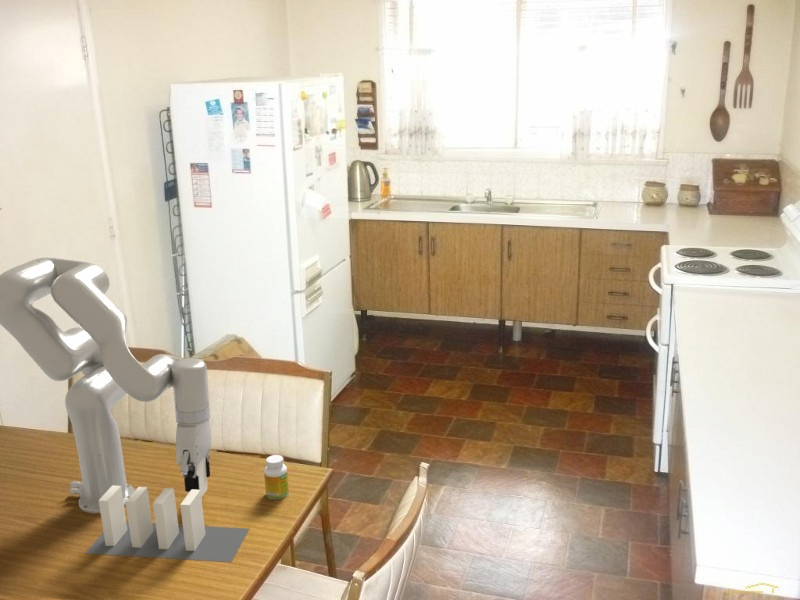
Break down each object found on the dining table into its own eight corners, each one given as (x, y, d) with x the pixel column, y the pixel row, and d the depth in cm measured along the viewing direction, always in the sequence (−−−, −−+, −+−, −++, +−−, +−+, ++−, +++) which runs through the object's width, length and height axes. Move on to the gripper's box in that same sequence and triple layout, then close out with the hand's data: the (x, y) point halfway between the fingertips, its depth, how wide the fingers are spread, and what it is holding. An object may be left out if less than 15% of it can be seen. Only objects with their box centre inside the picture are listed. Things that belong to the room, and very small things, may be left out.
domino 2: (132, 547, 162) (125, 501, 159) (144, 530, 168) (138, 486, 165) (141, 547, 162) (134, 502, 159) (153, 531, 168) (147, 487, 165)
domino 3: (158, 548, 162) (152, 503, 158) (170, 532, 167) (164, 488, 164) (167, 549, 161) (161, 503, 158) (179, 532, 167) (173, 488, 164)
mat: (85, 555, 161) (85, 553, 161) (113, 523, 172) (112, 521, 172) (231, 564, 157) (231, 562, 157) (249, 530, 168) (249, 528, 168)
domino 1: (105, 545, 163) (98, 500, 160) (118, 529, 169) (112, 485, 166) (114, 546, 163) (107, 500, 160) (127, 529, 168) (121, 485, 165)
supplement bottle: (284, 502, 179) (281, 465, 176) (262, 500, 180) (259, 463, 177) (292, 490, 184) (289, 454, 181) (270, 488, 185) (268, 452, 182)
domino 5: (185, 550, 161) (180, 504, 158) (196, 533, 166) (191, 489, 163) (194, 550, 161) (189, 505, 157) (205, 534, 166) (200, 489, 163)
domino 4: (189, 501, 175) (186, 458, 172) (199, 487, 181) (196, 446, 177) (198, 502, 175) (194, 459, 172) (207, 488, 180) (204, 446, 177)
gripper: (191, 396, 180) (196, 464, 185) (160, 429, 164) (167, 502, 169) (222, 398, 179) (226, 466, 185) (194, 431, 163) (199, 505, 168)
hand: (197, 483), depth 177 cm, fingers closed on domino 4, 5 cm apart
